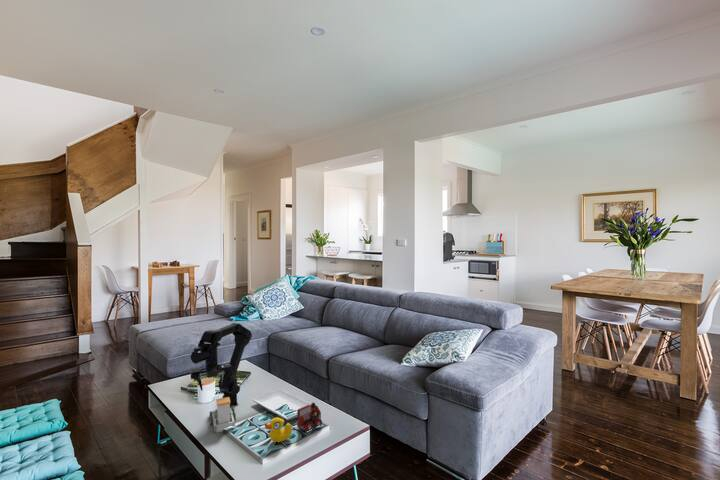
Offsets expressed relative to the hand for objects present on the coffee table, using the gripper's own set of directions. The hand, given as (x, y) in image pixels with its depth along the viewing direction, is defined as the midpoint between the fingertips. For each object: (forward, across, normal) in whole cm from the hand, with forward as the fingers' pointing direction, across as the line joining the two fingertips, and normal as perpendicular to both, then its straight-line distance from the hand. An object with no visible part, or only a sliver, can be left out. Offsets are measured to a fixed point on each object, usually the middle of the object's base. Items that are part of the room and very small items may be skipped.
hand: (212, 388), depth 183 cm
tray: (+14, +32, -8) cm, 36 cm away
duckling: (+13, +24, -38) cm, 47 cm away
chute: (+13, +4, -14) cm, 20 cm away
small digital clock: (+13, +4, -10) cm, 17 cm away
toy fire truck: (+13, +39, -33) cm, 53 cm away
